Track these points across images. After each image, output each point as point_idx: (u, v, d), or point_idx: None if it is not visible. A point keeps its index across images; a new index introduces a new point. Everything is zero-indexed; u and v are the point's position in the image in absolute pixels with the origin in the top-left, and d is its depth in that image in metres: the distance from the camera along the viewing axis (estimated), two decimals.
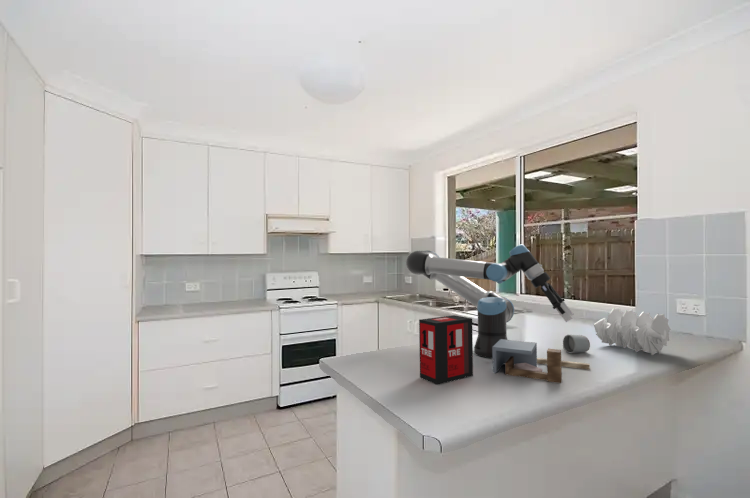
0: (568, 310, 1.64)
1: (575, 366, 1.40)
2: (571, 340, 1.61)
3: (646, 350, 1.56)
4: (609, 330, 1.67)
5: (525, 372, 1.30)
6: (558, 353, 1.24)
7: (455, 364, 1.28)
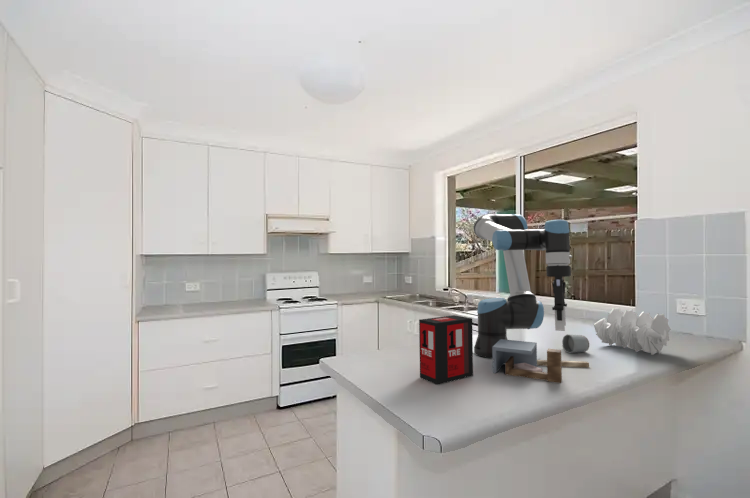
0: None
1: (575, 365, 1.41)
2: (570, 340, 1.62)
3: (646, 350, 1.56)
4: (609, 330, 1.67)
5: (525, 372, 1.30)
6: (558, 353, 1.24)
7: (455, 364, 1.28)
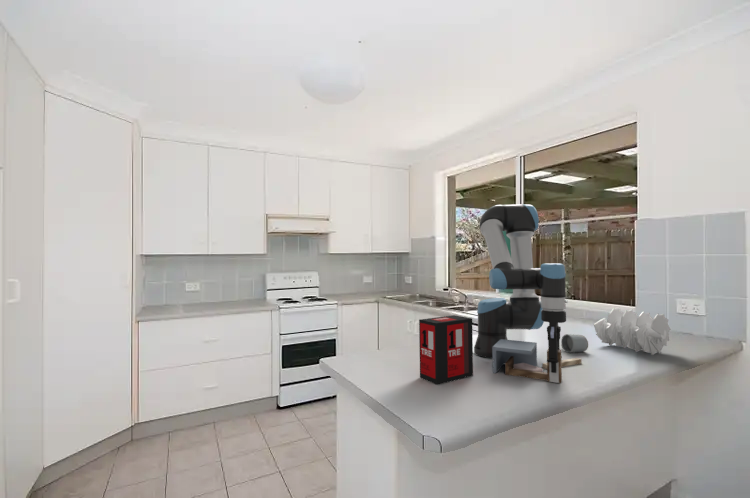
0: None
1: (573, 363, 1.44)
2: (569, 340, 1.62)
3: (646, 350, 1.56)
4: (609, 330, 1.67)
5: (525, 372, 1.30)
6: (558, 353, 1.24)
7: (455, 364, 1.28)
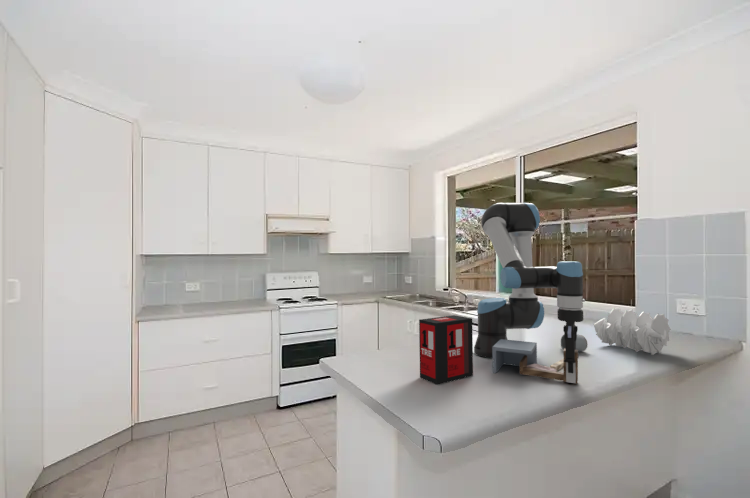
0: None
1: None
2: None
3: (646, 350, 1.56)
4: (609, 330, 1.67)
5: (540, 372, 1.27)
6: (575, 353, 1.21)
7: (455, 364, 1.28)
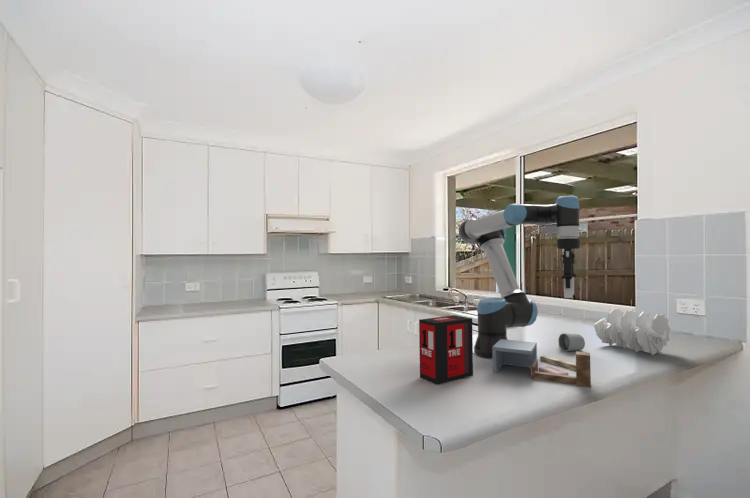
0: (572, 287, 1.45)
1: None
2: (566, 339, 1.64)
3: (646, 350, 1.56)
4: (609, 330, 1.67)
5: (552, 376, 1.25)
6: (588, 356, 1.20)
7: (455, 364, 1.28)
